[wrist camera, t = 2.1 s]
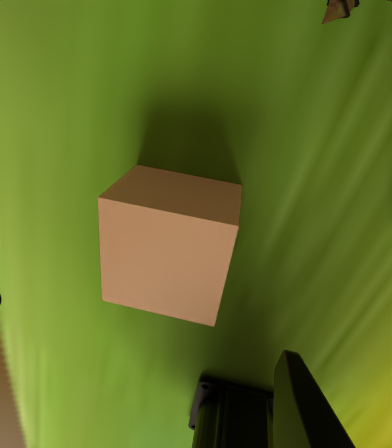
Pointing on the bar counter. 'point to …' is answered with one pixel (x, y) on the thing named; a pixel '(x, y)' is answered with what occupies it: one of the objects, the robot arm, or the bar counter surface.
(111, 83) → the bar counter surface
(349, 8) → the game die
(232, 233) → the terracotta block
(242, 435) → the robot arm
